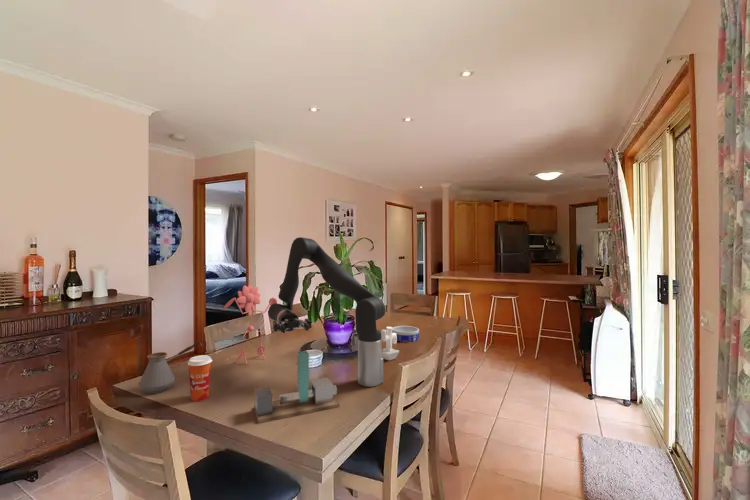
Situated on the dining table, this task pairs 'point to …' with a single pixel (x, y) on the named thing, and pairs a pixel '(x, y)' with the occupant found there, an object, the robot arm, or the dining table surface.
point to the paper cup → (199, 377)
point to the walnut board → (295, 409)
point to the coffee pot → (159, 372)
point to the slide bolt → (302, 383)
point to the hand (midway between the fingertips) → (296, 329)
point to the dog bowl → (406, 333)
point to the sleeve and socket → (320, 385)
